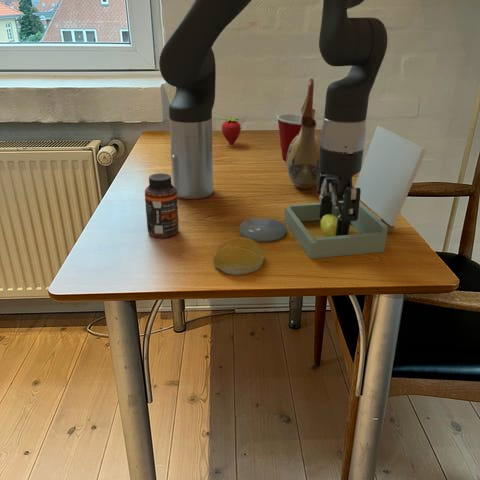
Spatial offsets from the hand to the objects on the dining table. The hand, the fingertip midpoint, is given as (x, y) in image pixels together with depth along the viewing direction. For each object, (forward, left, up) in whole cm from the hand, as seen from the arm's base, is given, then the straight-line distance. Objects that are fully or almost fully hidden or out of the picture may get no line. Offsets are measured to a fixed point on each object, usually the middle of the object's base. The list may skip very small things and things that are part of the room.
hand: (333, 228), depth 88 cm
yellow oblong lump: (0, 0, -2) cm, 2 cm away
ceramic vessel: (+3, +27, -2) cm, 27 cm away
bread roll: (-20, -7, -2) cm, 21 cm away
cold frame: (0, 0, -2) cm, 2 cm away
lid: (+9, 0, +10) cm, 14 cm away
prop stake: (+11, 0, -2) cm, 11 cm away
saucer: (-13, +4, -2) cm, 13 cm away
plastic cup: (+7, +48, -2) cm, 49 cm away
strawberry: (-8, +65, -2) cm, 65 cm away
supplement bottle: (-32, +7, -2) cm, 33 cm away
